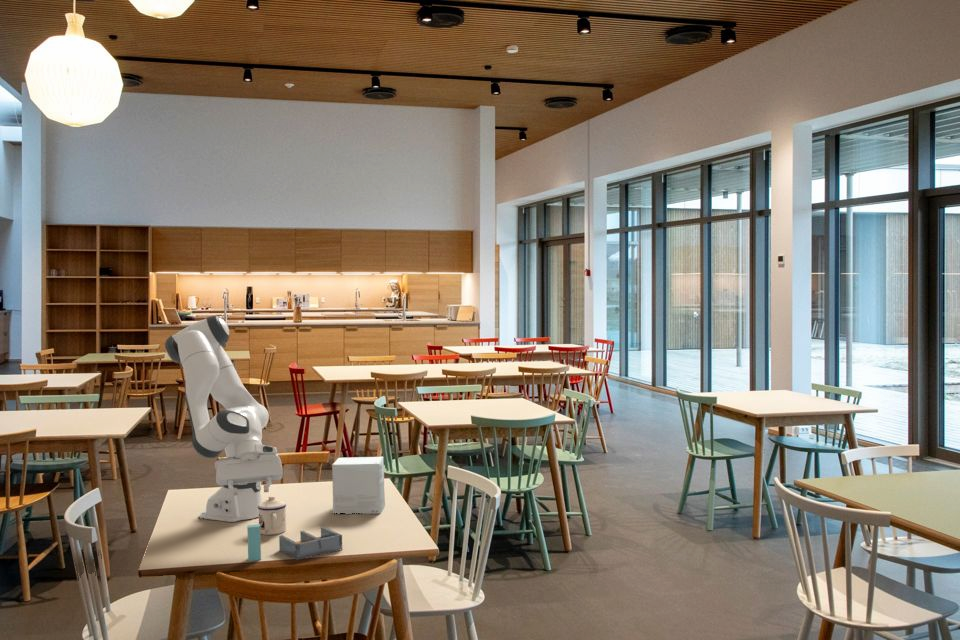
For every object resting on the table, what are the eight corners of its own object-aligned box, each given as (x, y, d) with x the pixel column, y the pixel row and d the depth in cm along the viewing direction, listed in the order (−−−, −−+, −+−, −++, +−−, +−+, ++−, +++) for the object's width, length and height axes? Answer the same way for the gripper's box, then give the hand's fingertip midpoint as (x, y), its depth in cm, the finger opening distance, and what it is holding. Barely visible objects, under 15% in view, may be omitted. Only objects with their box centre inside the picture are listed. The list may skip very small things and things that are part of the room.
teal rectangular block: (248, 558, 242) (247, 525, 241) (260, 557, 243) (259, 524, 243) (248, 561, 239) (247, 527, 239) (260, 559, 241) (260, 526, 240)
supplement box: (385, 504, 302) (384, 456, 301) (380, 514, 289) (379, 463, 288) (339, 505, 302) (338, 456, 302) (332, 514, 289) (331, 464, 288)
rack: (279, 550, 250) (278, 535, 249) (323, 540, 259) (323, 526, 259) (296, 560, 240) (296, 545, 240) (342, 549, 249) (342, 535, 249)
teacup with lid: (257, 529, 272) (256, 494, 272) (284, 526, 275) (284, 492, 275) (260, 539, 261) (259, 503, 260) (289, 536, 264) (288, 500, 264)
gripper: (214, 453, 256) (214, 490, 246) (281, 447, 261) (284, 483, 252) (215, 464, 260) (215, 502, 251) (281, 458, 266) (284, 494, 256)
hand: (250, 492), depth 251 cm, fingers open, 8 cm apart
